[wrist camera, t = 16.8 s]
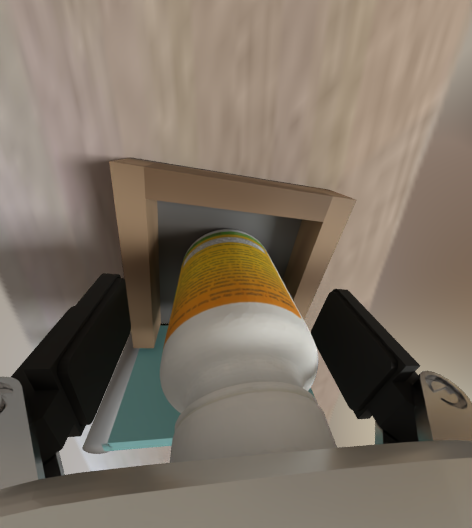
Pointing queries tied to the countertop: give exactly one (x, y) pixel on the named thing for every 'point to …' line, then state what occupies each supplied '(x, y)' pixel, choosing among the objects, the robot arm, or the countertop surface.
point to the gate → (135, 404)
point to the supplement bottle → (238, 357)
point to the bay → (212, 219)
